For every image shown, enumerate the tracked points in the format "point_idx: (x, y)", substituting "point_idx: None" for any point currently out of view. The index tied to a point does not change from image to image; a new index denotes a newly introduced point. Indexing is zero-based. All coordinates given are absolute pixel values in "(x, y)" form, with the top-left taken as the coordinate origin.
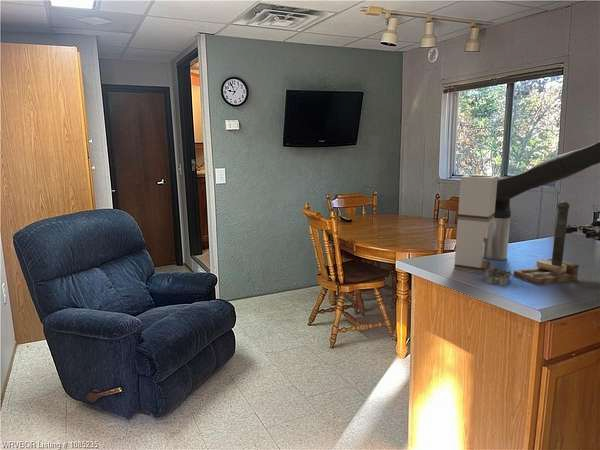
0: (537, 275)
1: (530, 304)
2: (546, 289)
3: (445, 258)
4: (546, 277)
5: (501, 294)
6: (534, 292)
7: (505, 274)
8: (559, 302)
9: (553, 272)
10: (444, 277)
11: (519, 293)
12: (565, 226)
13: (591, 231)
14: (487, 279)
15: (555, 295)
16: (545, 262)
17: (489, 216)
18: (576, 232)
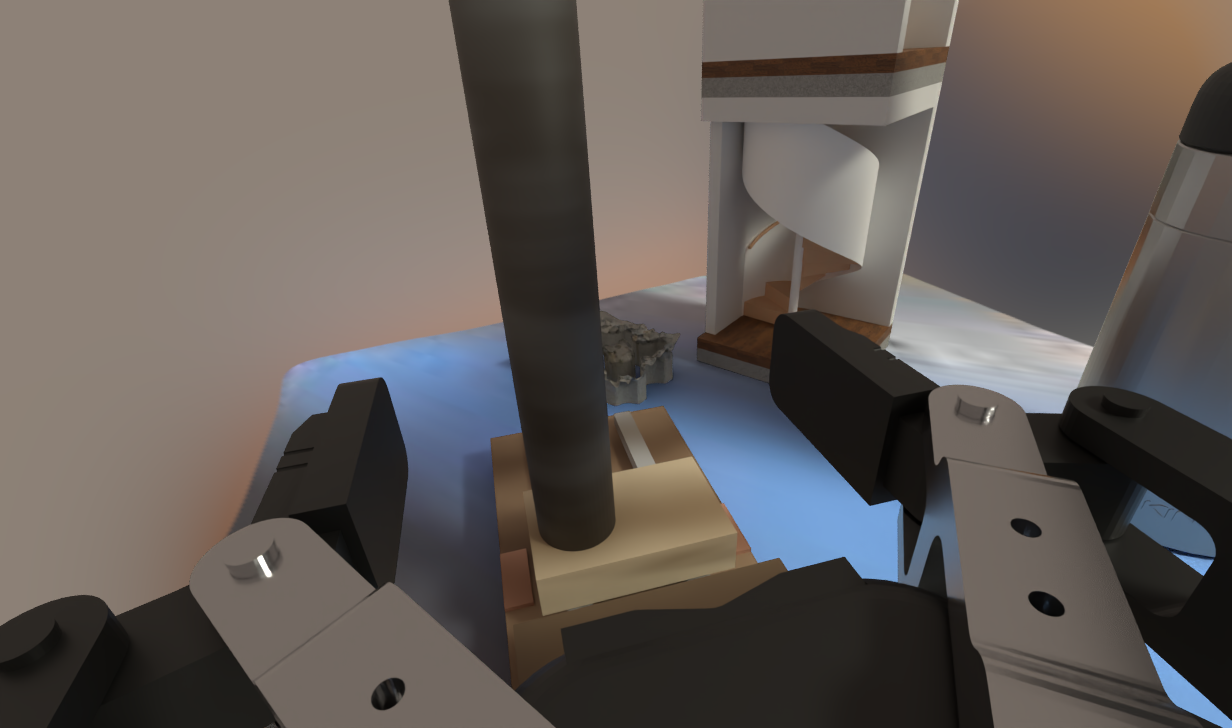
0: None
1: (332, 365)
2: (426, 462)
3: (951, 323)
4: (506, 476)
5: (450, 340)
6: (418, 412)
7: None
8: (279, 433)
9: None
10: (653, 288)
11: (433, 375)
12: (479, 177)
13: (347, 444)
14: None
15: None
16: (645, 483)
17: (722, 62)
18: (904, 569)
